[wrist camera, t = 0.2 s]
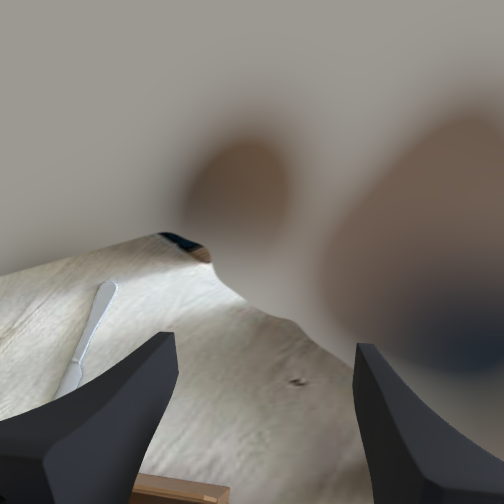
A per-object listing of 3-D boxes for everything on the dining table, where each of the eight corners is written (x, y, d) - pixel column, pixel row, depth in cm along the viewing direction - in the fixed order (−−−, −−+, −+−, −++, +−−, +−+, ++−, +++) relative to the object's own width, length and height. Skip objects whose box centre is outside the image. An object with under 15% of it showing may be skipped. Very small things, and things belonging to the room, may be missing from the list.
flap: (99, 483, 34) (101, 479, 34) (216, 502, 32) (217, 498, 32) (67, 477, 29) (68, 473, 29) (203, 500, 27) (204, 495, 27)
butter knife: (121, 283, 51) (102, 278, 51) (35, 479, 41) (13, 471, 42) (122, 284, 51) (104, 279, 52) (37, 479, 41) (15, 471, 42)
